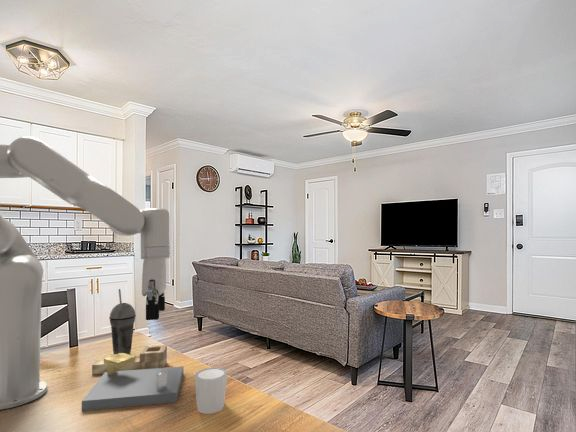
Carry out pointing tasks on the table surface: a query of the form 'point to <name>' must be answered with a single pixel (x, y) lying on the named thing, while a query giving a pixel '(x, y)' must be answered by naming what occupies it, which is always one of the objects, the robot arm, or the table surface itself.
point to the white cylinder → (210, 389)
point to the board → (133, 389)
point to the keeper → (117, 362)
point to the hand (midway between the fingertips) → (155, 314)
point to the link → (139, 360)
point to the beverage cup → (122, 327)
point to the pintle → (161, 381)
